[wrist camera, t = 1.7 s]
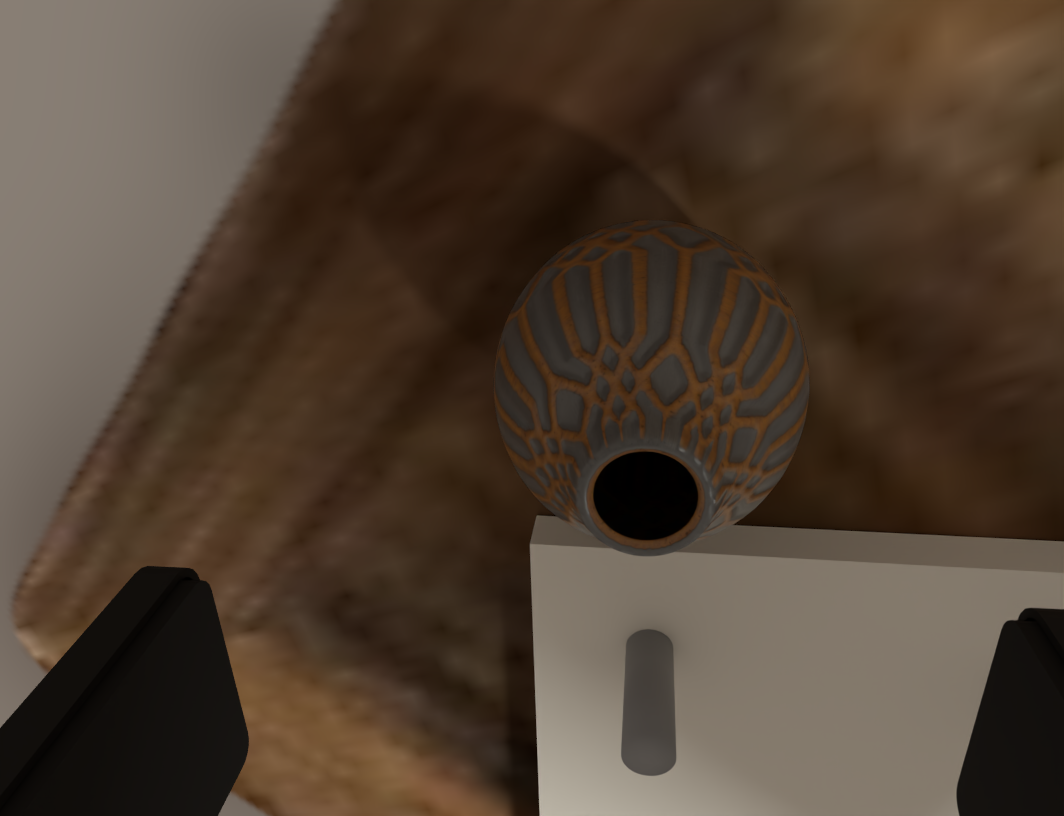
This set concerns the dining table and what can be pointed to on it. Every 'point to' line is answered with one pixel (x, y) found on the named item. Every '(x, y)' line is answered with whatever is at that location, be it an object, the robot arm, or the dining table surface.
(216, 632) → the robot arm
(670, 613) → the stand
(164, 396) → the dining table surface
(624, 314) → the vase
